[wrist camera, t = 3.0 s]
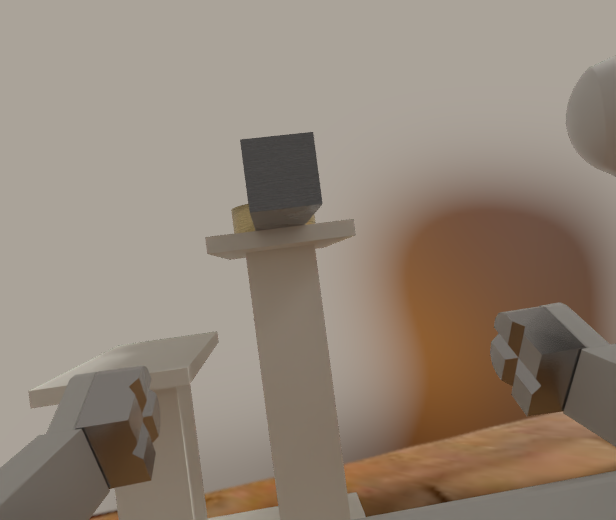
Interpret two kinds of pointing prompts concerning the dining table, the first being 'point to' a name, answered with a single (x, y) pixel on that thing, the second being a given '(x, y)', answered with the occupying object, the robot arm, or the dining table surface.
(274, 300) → the rack
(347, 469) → the dining table surface
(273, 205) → the grey and gold bar
